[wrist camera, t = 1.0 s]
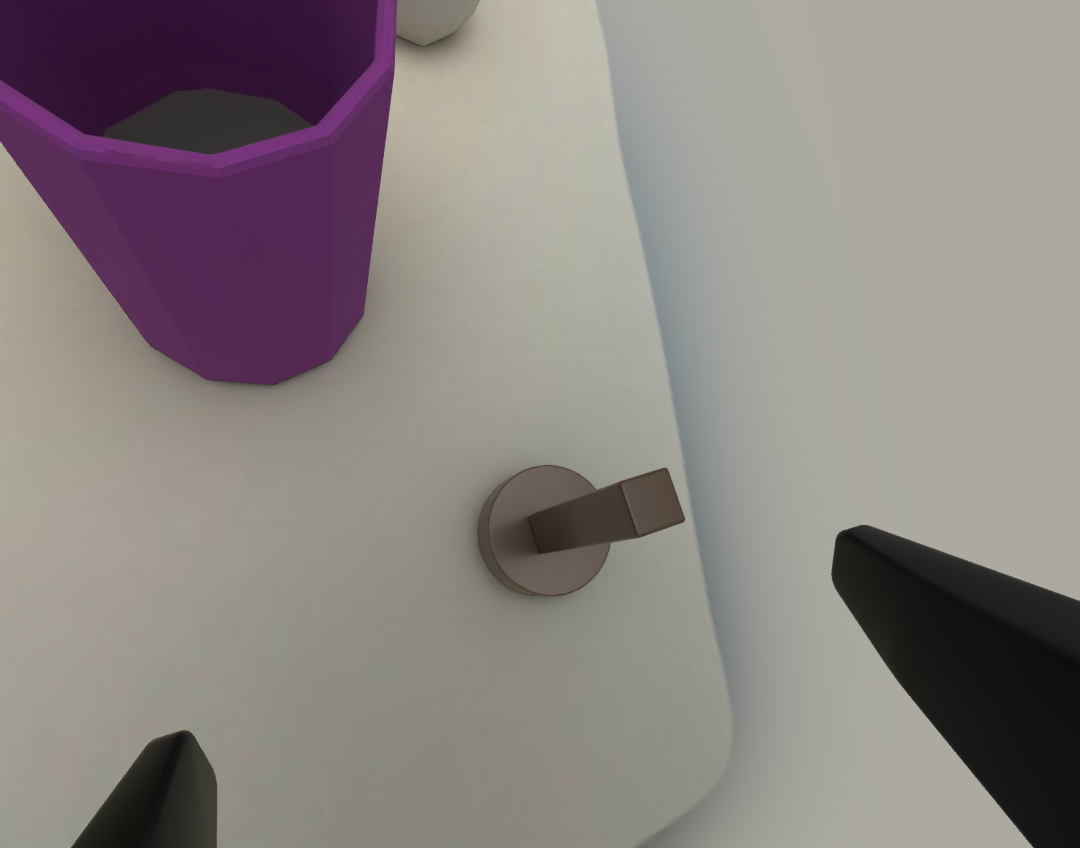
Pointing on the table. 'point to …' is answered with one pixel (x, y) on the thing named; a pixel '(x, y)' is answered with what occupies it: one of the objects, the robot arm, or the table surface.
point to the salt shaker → (431, 18)
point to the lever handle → (567, 525)
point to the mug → (210, 163)
